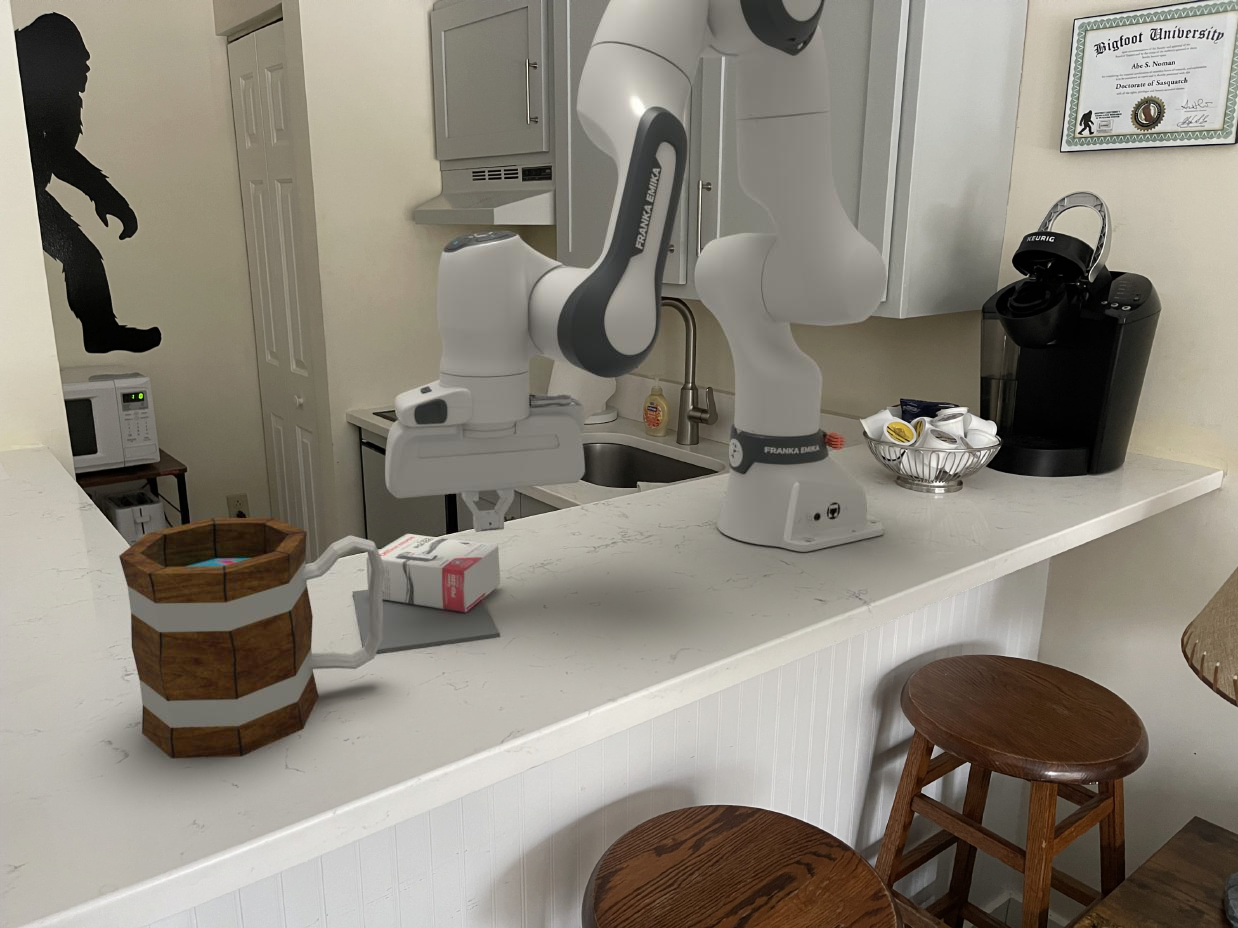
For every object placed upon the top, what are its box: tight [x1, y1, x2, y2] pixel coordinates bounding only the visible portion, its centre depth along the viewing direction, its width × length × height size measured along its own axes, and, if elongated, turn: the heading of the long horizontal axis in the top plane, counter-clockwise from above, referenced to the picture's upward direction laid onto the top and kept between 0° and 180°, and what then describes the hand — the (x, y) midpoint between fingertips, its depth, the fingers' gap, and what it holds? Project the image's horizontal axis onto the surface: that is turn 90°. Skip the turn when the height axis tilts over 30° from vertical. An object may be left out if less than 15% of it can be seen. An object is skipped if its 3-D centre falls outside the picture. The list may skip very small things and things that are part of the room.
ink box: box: [366, 533, 501, 613], centre depth 98 cm, size 9×5×12 cm
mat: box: [352, 589, 501, 655], centre depth 94 cm, size 13×15×1 cm
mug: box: [118, 517, 384, 759], centre depth 74 cm, size 20×14×15 cm
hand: (488, 529), depth 93 cm, fingers closed
